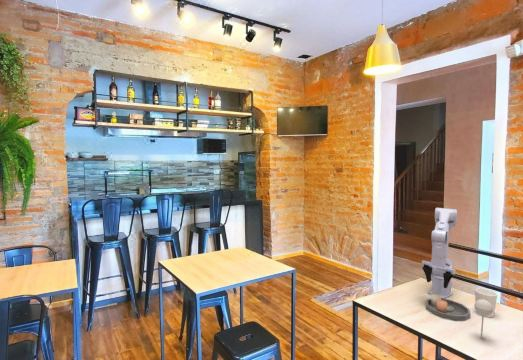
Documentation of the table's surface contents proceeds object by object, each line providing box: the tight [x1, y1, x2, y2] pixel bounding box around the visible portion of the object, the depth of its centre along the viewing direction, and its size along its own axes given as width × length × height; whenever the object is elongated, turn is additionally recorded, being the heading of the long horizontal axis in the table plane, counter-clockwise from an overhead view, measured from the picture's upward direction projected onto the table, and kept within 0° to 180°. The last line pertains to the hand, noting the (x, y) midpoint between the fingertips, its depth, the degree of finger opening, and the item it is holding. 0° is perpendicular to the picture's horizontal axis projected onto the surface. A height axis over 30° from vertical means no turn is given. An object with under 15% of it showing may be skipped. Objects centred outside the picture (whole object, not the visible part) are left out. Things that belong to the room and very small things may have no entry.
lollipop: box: [473, 299, 493, 339], centre depth 121 cm, size 6×6×15 cm
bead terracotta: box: [436, 300, 447, 314], centre depth 139 cm, size 4×4×5 cm
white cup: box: [474, 287, 498, 318], centre depth 140 cm, size 8×8×10 cm
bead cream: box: [430, 293, 441, 307], centre depth 146 cm, size 4×4×5 cm
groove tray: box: [425, 298, 471, 322], centre depth 142 cm, size 17×17×2 cm
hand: (437, 284), depth 146 cm, fingers open, 7 cm apart
